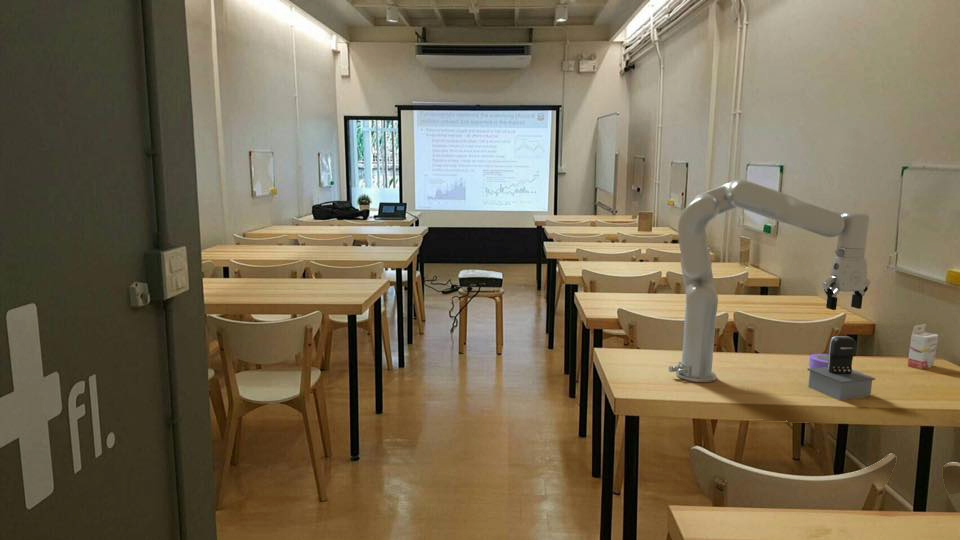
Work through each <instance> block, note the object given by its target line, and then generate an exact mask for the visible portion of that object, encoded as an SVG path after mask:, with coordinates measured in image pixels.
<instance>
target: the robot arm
mask: <svg viewBox="0 0 960 540" xmlns="http://www.w3.org/2000/svg"><path fill="white" fill-rule="evenodd" d="M736 208H740V209H743V210H745V211H748V212H751V213H754V214H756V215H760V216H762V217H764V218H767V219H770V220H774V221H776V222H779V223H782V224H788V225H791V226H794V227H796V228H800V229H802V230H805V231H809V232H810V233H813V234H817V235H820V236H821V237H825V238H835V237H837V244H836V246H837V247H836V250H835V251H834V252H835V257H834V259H833V261H832V265H831V270H830V275H829V278H828V279H826V280H824V281H823V282H822V287H823V291H824V293H825V295H826V296H827V297H826V306H825V308H826V309H829V310H832V311H836V310H837V307H838V305H837V304H838V296H837V295H839V293H840V292H845V293H846V292H853V294H852V296H851V302H850V303H851V304H850V306H851V307H852V308H855V309H859V310H861V309H862V305H863V298H864V296H865V295H866V292H867V291H868V289H869V286H870V284H871V281H870V280H869V279H868V278H867V277H868V275H867V274H868V264H867V259H866V258H865V255H866V249H867V239H868V232H869V231H868V230H869V224H870V216H869V215H868V214H867V213H864V212H856V211H855V212H854V211H853V212H852V211H851V212H850V211H849V212H848V211H847V212H839V211H832V210H828V209H826V208H824V207H820V206H817V205H814V204H811V203H808V202H806V201H803V200H801V199H798V198H796V197H794V196H791V195H789V194H787V193H784V192H781V191H778V190H775V189H773V188H772V189H771V188H769V187H766V186H763V185H760V184H758V183H754V182H752V181H748V180H746V179H735V180H732V181H730V182H727V183H725V184H723V185H720V186H718V187H715V188H712V189H710V190H707V191H705V192H702V193H699V194H697V195H696V196H695V197H694V198H693V199H692V200H691V202H690V203H689V204H688V205H686V207H685V208H684V210H683V211H682V212H681V215H680V217H679V220H678V223H677V224H678V225H677V235H678V236H677V237H678V242H679V244H678V245H679V250H680V257H681V258H680V267H681V273H682V279H683V284H684V292H685V298H686V299H685V311H684V312H685V313H684V323H683V324H684V325H683V341H682V343H683V344H682V355H681V361H679V362H678V364H677V365H670V366H668V372H670V373H675V374H676V376H677V377H679V378H680V379H682V380H685V381H688V382H695V383H712V382H715V380H717V374H716V373H715V372H713V358H714V347H715V331H716V320H717V319H716V318H717V312H718V304H719V296H718V293H717V289H716V286H715V281H714V276H713V268H712V259H711V256H710V252H709V245H708V238H707V226H708V224H709V223H710V221H712V220H714V219H715V218H716V217H717V216H718V215H720V214H723V213H726V212H727V211H731V210H734V209H736Z"/></svg>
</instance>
